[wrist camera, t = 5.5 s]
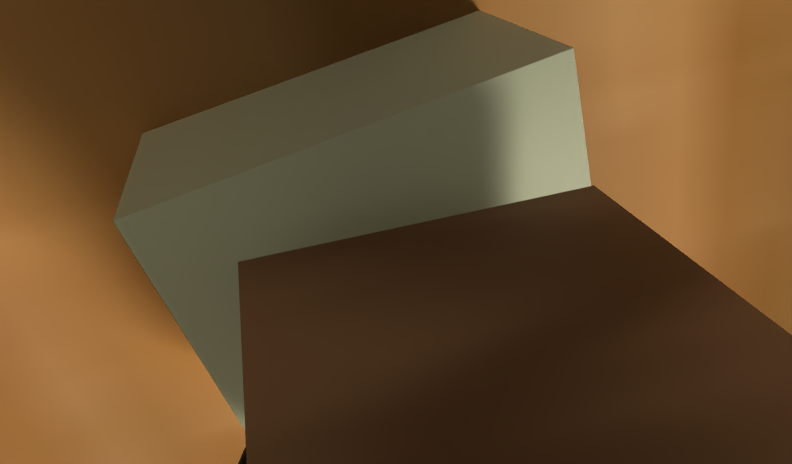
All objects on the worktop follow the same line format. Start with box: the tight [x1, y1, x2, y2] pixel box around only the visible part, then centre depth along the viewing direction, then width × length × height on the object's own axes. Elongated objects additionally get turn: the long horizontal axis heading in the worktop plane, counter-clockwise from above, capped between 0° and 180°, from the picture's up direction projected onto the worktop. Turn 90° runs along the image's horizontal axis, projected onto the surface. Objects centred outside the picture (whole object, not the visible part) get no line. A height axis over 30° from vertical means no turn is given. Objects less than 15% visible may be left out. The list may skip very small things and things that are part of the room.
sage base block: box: [113, 10, 591, 429], centre depth 12 cm, size 7×7×4 cm
